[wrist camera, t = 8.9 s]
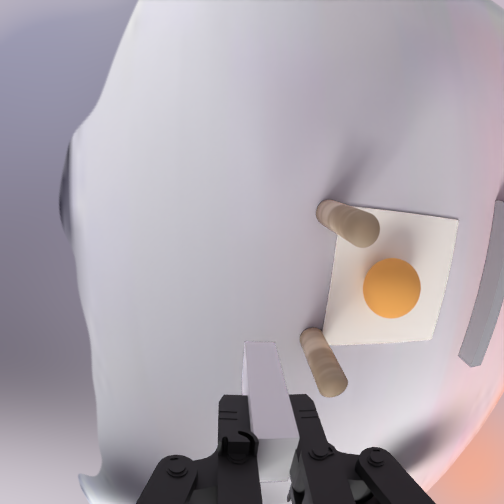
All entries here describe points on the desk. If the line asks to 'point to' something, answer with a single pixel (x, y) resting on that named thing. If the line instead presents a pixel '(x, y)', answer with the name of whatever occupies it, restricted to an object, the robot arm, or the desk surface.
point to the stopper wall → (487, 295)
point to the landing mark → (386, 246)
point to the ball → (391, 288)
